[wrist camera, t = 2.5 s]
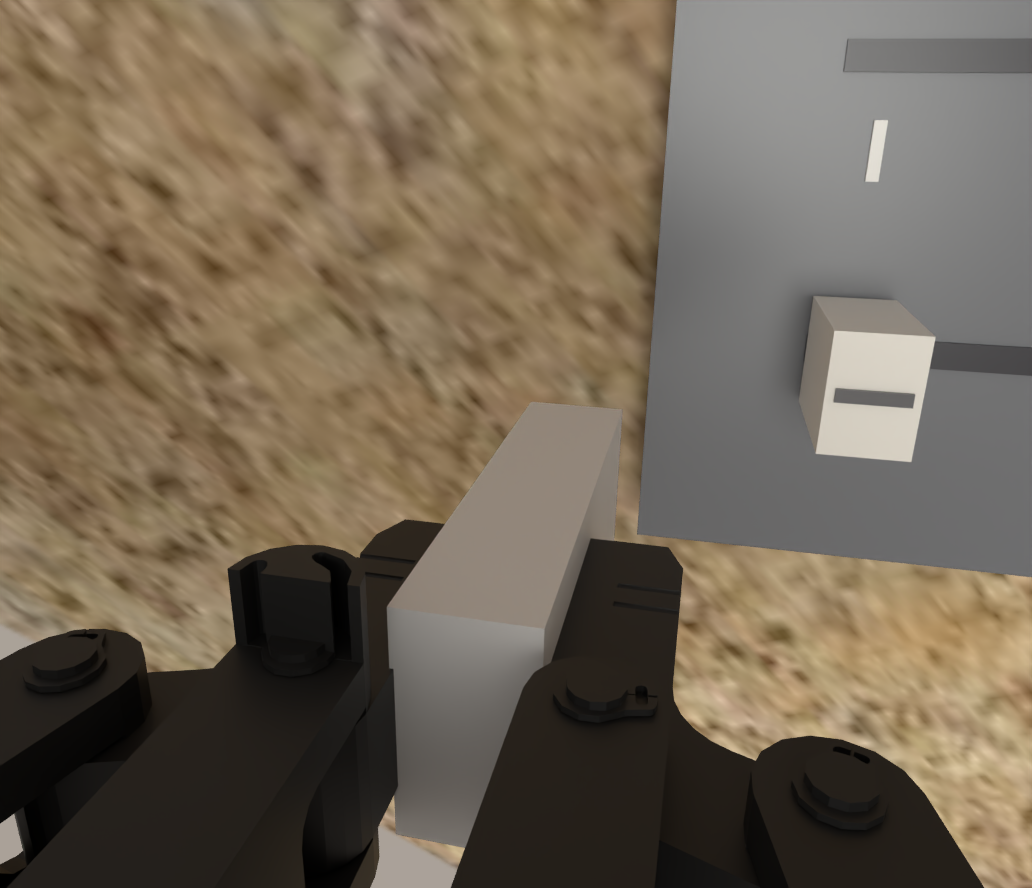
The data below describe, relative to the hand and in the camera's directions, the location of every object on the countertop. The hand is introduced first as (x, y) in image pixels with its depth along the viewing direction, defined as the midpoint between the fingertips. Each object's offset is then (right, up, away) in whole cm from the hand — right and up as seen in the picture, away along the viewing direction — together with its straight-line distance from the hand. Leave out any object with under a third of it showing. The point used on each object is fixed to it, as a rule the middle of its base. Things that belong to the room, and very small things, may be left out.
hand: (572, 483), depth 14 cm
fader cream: (+8, +3, +8) cm, 11 cm away
